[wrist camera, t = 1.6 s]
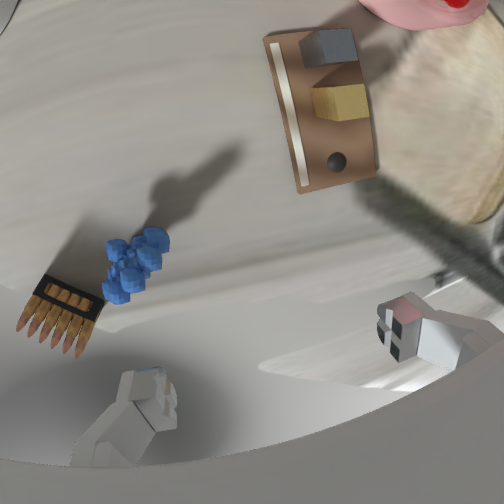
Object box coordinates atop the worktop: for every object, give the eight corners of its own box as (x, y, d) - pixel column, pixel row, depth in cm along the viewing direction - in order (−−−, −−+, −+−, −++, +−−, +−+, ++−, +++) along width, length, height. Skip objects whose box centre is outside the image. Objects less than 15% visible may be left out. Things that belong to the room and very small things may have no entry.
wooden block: (310, 88, 31) (332, 87, 26) (337, 84, 31) (364, 83, 26) (316, 116, 33) (339, 121, 27) (342, 112, 33) (369, 116, 27)
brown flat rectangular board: (262, 38, 29) (264, 36, 28) (347, 29, 29) (351, 28, 28) (297, 192, 39) (300, 194, 38) (372, 174, 39) (377, 176, 38)
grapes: (147, 189, 36) (124, 227, 25) (186, 225, 39) (179, 274, 28) (95, 249, 39) (64, 301, 28) (131, 279, 41) (112, 337, 31)
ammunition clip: (104, 300, 43) (83, 357, 32) (102, 308, 43) (81, 365, 33) (44, 273, 39) (10, 323, 28) (43, 282, 40) (11, 333, 29)
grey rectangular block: (298, 41, 29) (318, 30, 23) (325, 39, 29) (350, 28, 23) (304, 68, 31) (326, 63, 24) (332, 65, 31) (358, 60, 25)
